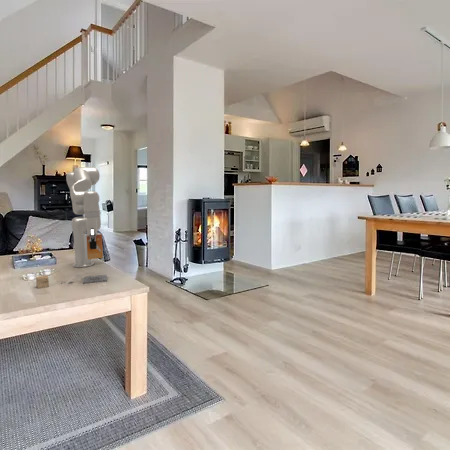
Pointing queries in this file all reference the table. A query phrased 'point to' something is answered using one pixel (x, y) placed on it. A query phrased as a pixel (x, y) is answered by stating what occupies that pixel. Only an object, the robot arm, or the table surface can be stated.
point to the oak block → (42, 281)
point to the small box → (93, 252)
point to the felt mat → (95, 279)
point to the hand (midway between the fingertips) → (93, 247)
